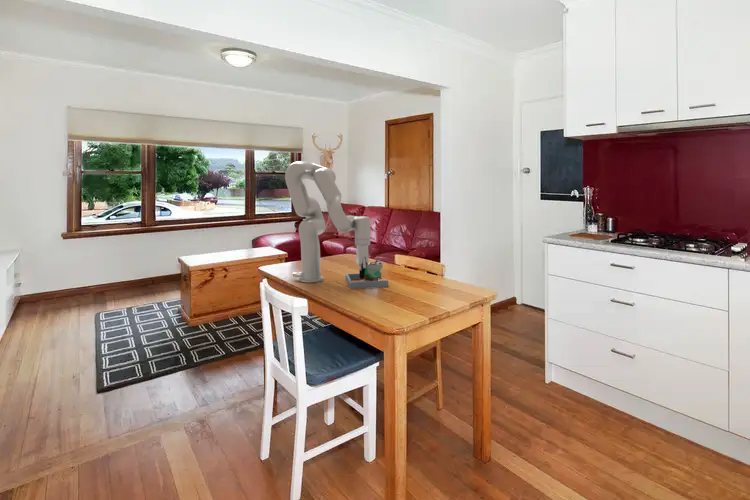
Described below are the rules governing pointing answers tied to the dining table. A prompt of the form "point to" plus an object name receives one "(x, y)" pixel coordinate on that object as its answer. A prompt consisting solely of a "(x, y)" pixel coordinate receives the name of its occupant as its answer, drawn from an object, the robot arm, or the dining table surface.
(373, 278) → the food container
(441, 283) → the dining table surface
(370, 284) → the low box
